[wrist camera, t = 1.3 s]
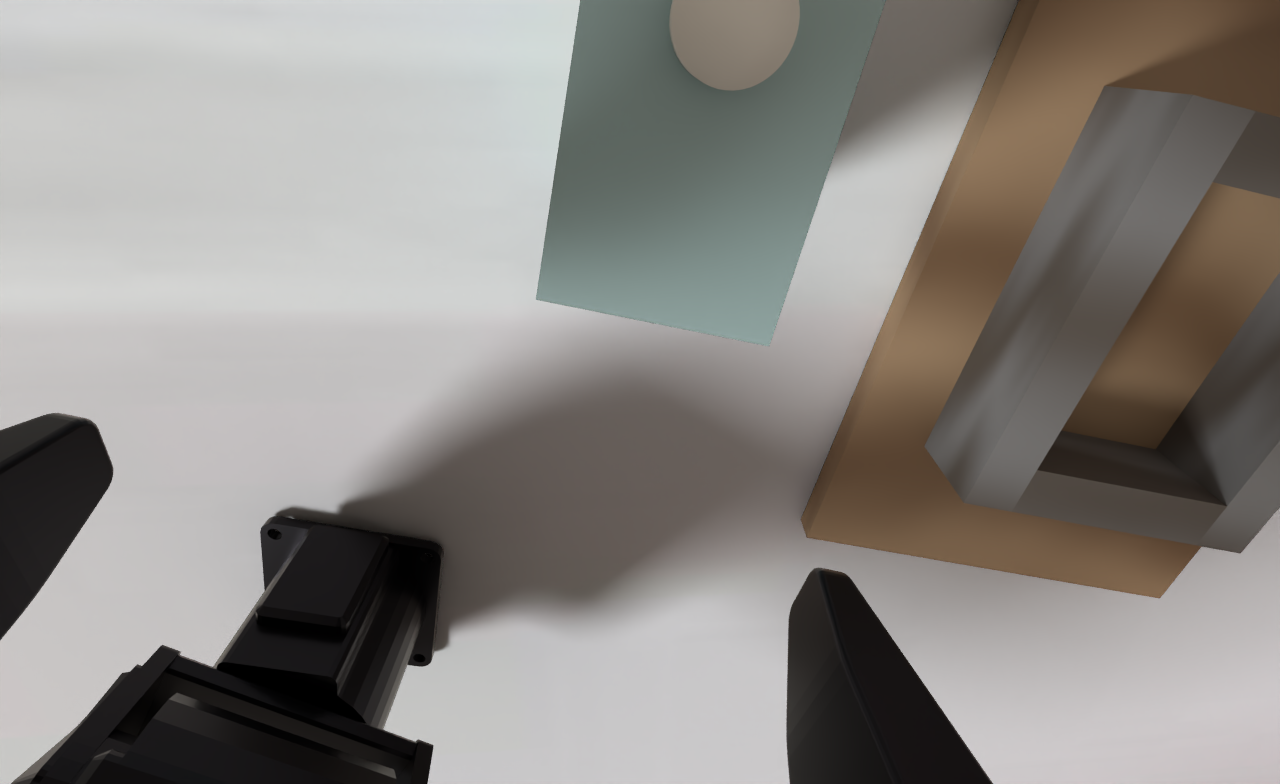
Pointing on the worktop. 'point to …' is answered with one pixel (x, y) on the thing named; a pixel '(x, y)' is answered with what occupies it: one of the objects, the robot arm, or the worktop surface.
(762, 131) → the block
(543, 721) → the worktop surface
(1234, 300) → the caddy
